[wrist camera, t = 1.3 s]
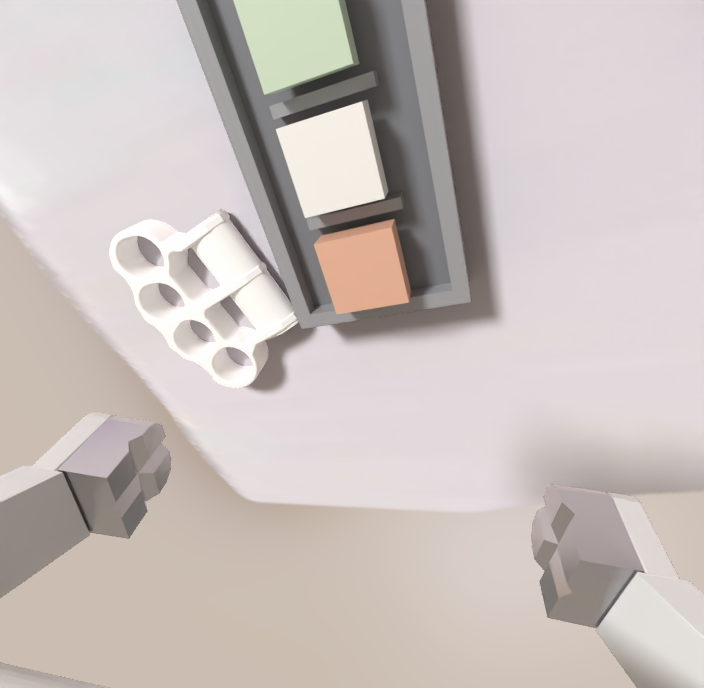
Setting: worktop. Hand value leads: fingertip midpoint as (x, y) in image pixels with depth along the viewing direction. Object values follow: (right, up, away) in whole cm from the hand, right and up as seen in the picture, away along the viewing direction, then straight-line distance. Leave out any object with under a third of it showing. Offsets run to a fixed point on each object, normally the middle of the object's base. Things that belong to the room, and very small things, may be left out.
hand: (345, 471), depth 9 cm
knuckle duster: (-13, +8, +33) cm, 36 cm away
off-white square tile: (-1, +15, +19) cm, 25 cm away
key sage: (-3, +21, +16) cm, 27 cm away
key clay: (+1, +9, +23) cm, 25 cm away
